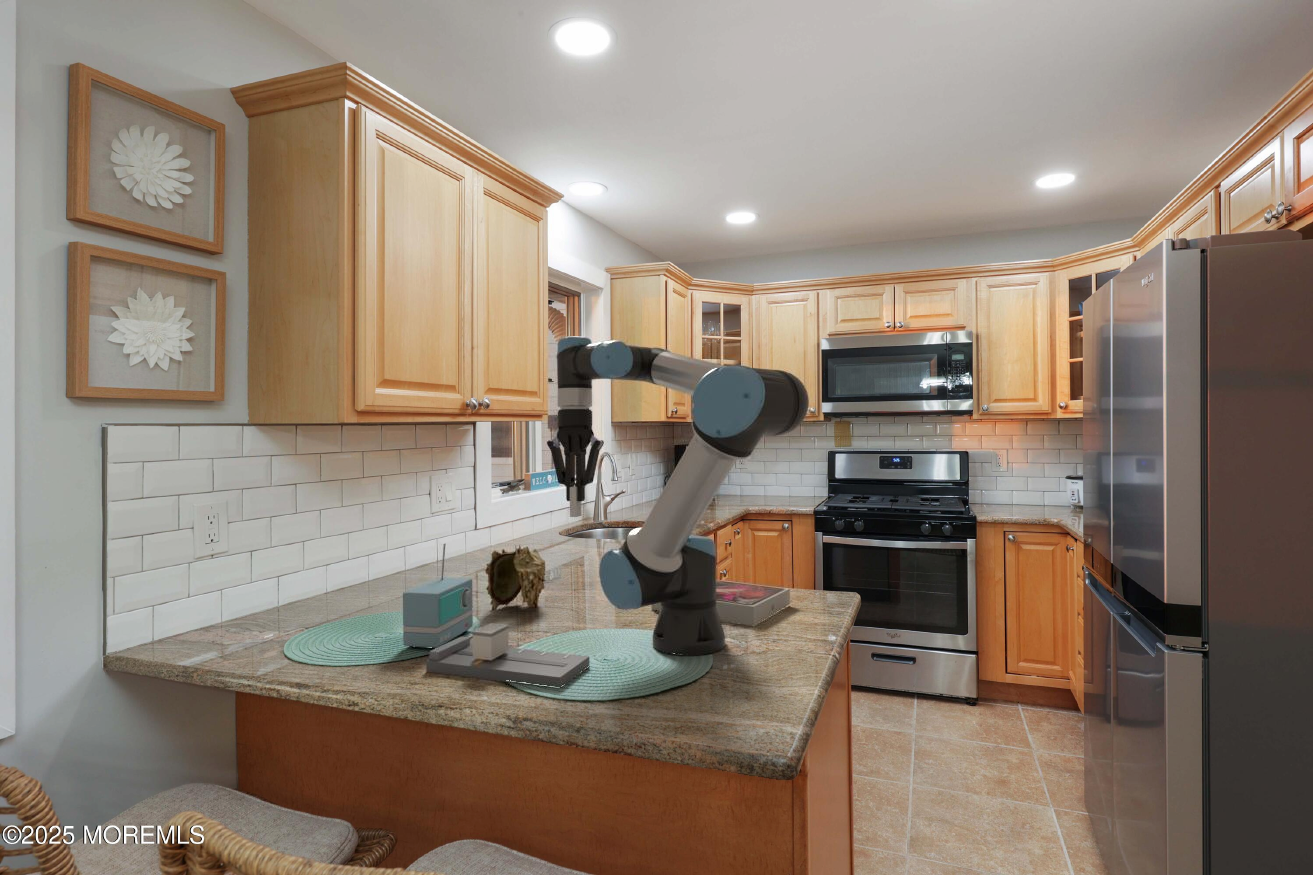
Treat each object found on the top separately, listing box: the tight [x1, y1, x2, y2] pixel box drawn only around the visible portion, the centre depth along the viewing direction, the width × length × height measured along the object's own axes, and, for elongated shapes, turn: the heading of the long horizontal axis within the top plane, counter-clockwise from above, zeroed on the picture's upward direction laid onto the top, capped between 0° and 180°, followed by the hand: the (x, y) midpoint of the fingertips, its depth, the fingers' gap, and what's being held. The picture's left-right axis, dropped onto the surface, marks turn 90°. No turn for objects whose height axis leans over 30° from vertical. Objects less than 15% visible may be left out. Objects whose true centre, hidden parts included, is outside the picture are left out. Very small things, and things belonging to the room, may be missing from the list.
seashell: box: [484, 544, 547, 612], centre depth 175 cm, size 18×18×15 cm
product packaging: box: [651, 579, 791, 626], centre depth 175 cm, size 22×28×5 cm
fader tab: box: [471, 622, 510, 660], centre depth 131 cm, size 4×6×5 cm
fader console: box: [425, 636, 590, 687], centre depth 130 cm, size 28×12×4 cm, turn 71°
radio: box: [402, 543, 474, 648], centre depth 149 cm, size 16×9×20 cm, turn 168°
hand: (575, 516), depth 151 cm, fingers closed
